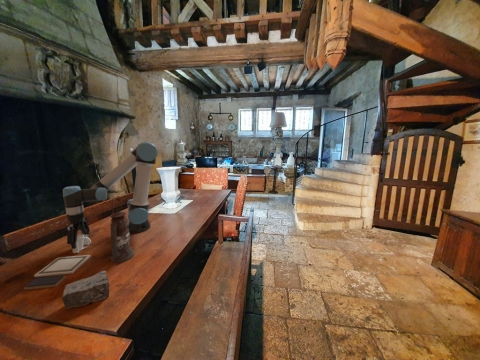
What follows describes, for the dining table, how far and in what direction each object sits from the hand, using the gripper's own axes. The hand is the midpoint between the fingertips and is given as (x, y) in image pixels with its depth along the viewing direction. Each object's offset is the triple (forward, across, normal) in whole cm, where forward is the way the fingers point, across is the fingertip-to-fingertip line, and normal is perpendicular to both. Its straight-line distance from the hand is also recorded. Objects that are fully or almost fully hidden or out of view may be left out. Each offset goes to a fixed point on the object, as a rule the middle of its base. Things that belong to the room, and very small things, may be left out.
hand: (81, 248), depth 108 cm
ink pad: (0, +28, +3) cm, 29 cm away
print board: (0, +16, +2) cm, 16 cm away
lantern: (0, +12, +28) cm, 31 cm away
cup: (0, 0, 0) cm, 0 cm away
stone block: (0, +40, +28) cm, 48 cm away
